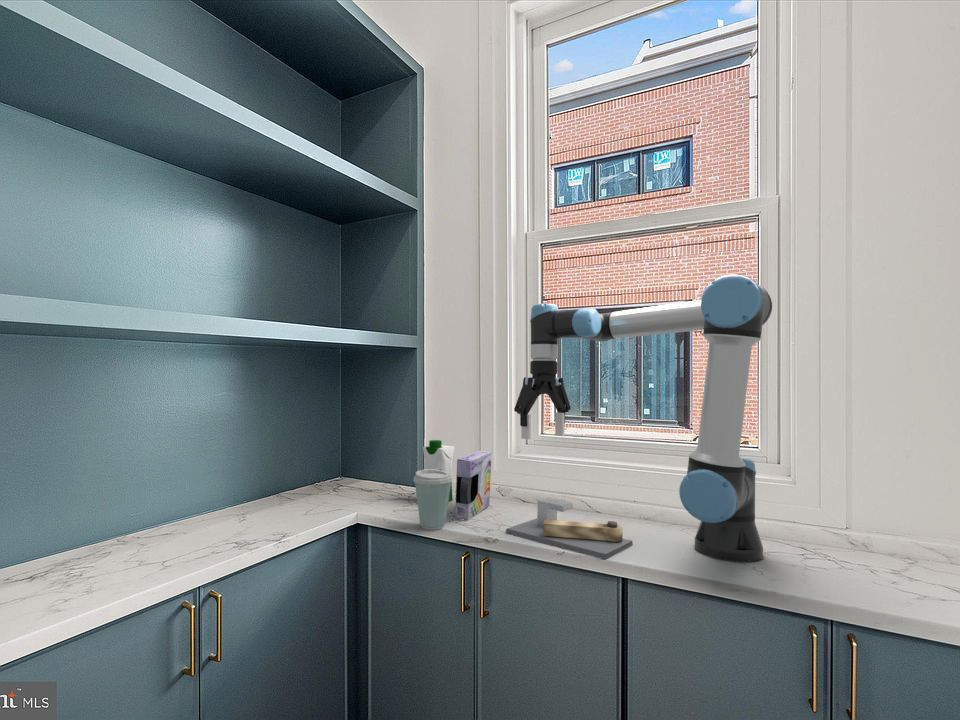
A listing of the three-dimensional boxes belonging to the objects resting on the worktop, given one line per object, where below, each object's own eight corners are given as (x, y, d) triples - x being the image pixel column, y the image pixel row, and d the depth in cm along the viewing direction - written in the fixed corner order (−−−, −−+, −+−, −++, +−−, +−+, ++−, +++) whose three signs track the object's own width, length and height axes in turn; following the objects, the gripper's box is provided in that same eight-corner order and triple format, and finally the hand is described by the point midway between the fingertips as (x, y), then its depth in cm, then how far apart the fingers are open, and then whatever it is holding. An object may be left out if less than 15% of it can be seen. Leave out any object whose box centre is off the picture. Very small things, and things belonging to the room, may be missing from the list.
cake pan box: (468, 522, 152) (469, 459, 152) (452, 520, 154) (453, 458, 154) (491, 507, 170) (492, 451, 170) (476, 505, 171) (477, 450, 172)
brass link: (621, 536, 136) (622, 520, 136) (623, 542, 131) (623, 525, 131) (544, 530, 139) (544, 515, 139) (543, 536, 134) (543, 520, 135)
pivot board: (632, 545, 133) (632, 540, 133) (605, 559, 123) (605, 554, 123) (536, 522, 152) (536, 518, 152) (506, 533, 142) (506, 528, 142)
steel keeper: (572, 531, 144) (572, 502, 144) (562, 535, 140) (562, 505, 140) (547, 525, 149) (547, 497, 149) (537, 529, 145) (537, 500, 146)
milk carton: (418, 502, 174) (420, 440, 175) (435, 496, 182) (436, 437, 182) (440, 505, 170) (441, 442, 170) (456, 500, 177) (458, 440, 178)
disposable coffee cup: (459, 525, 148) (460, 471, 148) (434, 535, 139) (436, 477, 139) (429, 519, 153) (430, 467, 154) (403, 528, 144) (405, 472, 145)
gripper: (563, 361, 159) (562, 433, 158) (501, 359, 143) (500, 438, 142) (583, 361, 153) (582, 435, 153) (521, 358, 137) (520, 441, 136)
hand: (543, 437), depth 147 cm, fingers open, 13 cm apart
